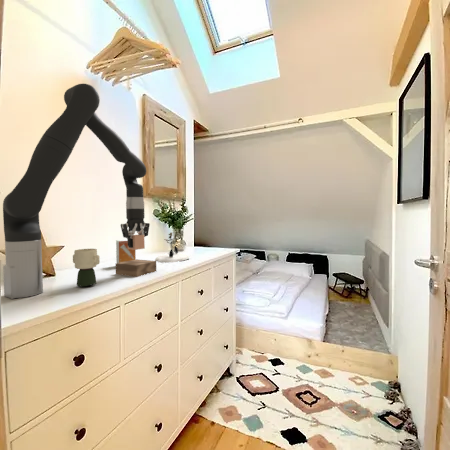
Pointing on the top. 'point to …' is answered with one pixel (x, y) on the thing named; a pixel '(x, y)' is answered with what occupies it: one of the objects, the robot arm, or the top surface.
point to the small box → (124, 252)
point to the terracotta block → (138, 242)
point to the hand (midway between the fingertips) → (136, 246)
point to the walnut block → (135, 267)
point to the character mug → (86, 266)
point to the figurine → (172, 254)
